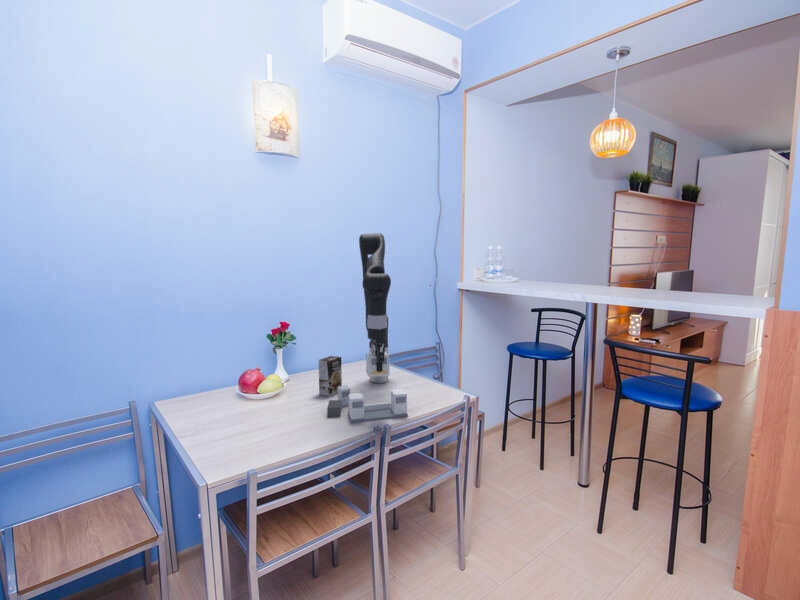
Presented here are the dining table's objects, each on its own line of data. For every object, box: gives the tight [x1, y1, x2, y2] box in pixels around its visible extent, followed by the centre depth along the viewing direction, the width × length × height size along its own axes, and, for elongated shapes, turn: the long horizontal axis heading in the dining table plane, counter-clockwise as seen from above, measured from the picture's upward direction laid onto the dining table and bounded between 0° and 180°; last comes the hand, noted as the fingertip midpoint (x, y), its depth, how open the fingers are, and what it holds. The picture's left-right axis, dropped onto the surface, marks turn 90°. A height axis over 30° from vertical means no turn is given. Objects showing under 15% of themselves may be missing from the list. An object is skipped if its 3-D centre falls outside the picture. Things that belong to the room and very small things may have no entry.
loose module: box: [365, 352, 390, 378], centre depth 160 cm, size 5×8×8 cm, turn 106°
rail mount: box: [347, 388, 409, 424], centre depth 163 cm, size 9×22×9 cm, turn 105°
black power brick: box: [326, 399, 343, 418], centre depth 166 cm, size 8×5×4 cm, turn 4°
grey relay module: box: [337, 384, 351, 407], centre depth 175 cm, size 5×4×7 cm
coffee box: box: [318, 355, 343, 397], centre depth 188 cm, size 9×6×16 cm
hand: (377, 369), depth 160 cm, fingers closed on loose module, 5 cm apart
